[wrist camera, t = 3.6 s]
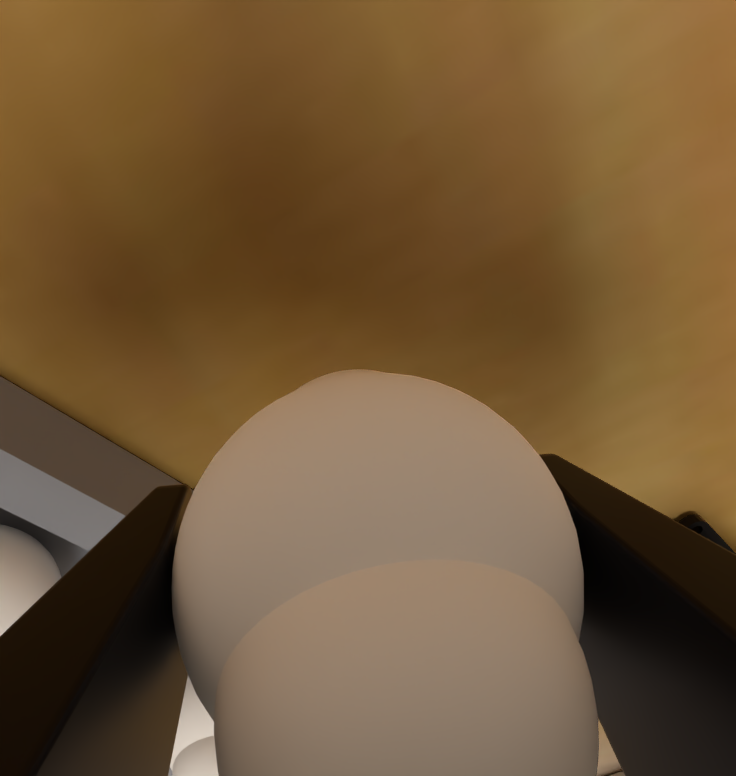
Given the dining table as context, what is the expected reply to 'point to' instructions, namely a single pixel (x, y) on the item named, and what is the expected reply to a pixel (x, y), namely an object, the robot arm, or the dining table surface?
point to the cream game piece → (384, 591)
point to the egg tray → (73, 525)
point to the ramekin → (618, 774)
